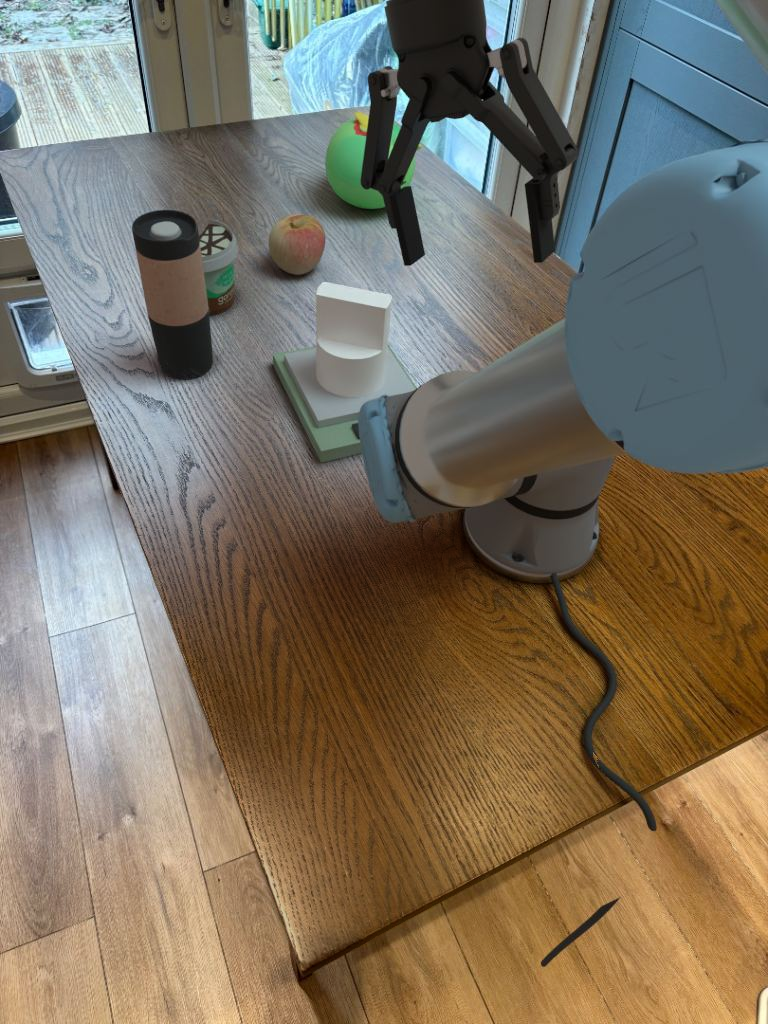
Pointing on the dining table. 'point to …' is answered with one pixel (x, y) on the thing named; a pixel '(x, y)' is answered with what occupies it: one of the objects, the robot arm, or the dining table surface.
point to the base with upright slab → (351, 339)
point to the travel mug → (174, 291)
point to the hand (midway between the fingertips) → (476, 259)
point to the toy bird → (355, 163)
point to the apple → (297, 243)
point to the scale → (331, 402)
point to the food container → (218, 265)
